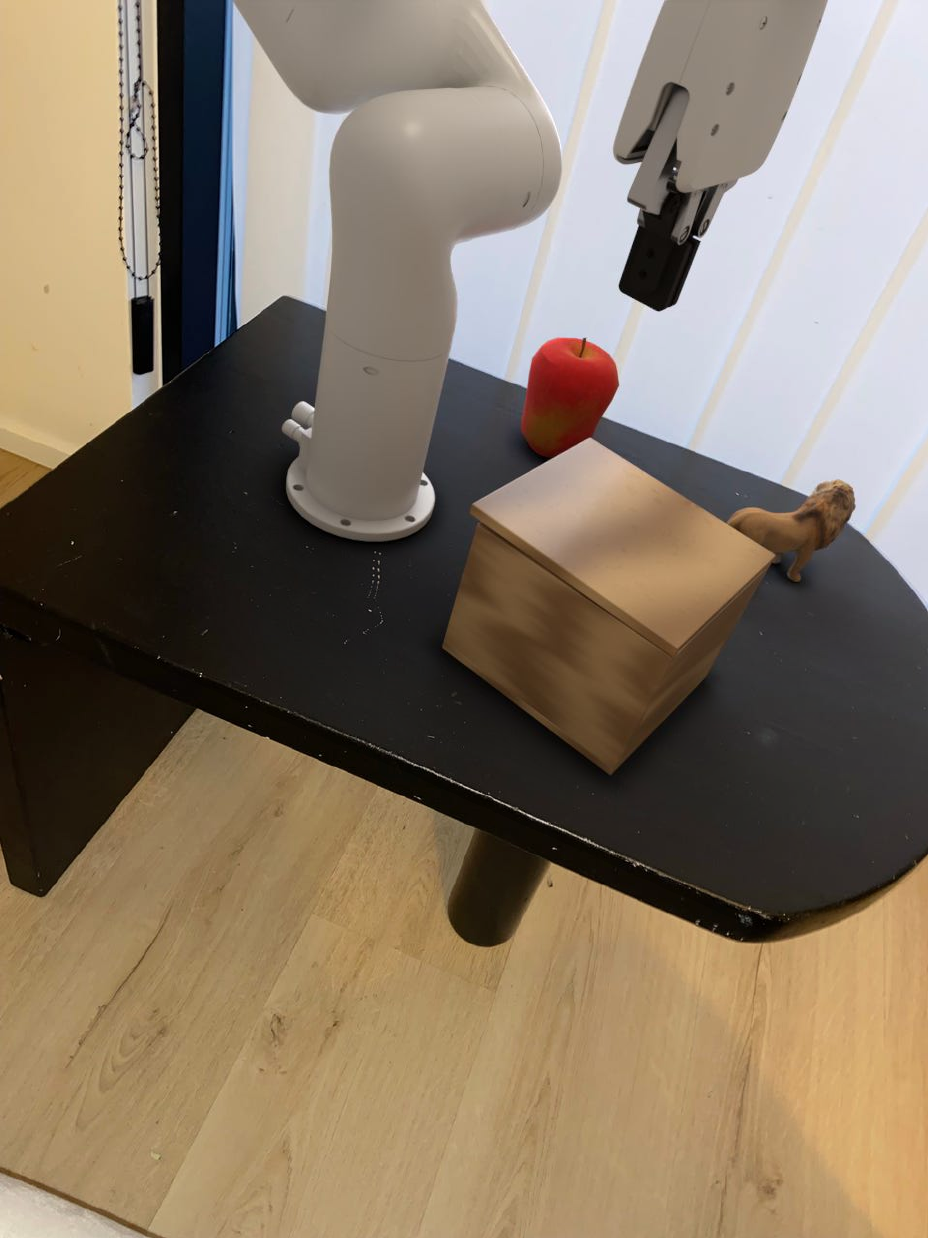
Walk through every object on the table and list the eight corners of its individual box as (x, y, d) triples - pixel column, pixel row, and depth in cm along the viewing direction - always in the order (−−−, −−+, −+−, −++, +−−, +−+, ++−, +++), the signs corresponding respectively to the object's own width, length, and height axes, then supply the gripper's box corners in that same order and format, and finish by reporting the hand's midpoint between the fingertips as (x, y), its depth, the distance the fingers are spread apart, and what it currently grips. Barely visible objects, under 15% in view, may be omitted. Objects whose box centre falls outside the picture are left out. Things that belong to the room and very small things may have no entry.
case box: (441, 647, 70) (476, 524, 62) (551, 570, 79) (593, 454, 71) (610, 776, 64) (672, 658, 56) (706, 676, 74) (770, 564, 66)
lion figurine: (793, 541, 90) (838, 464, 84) (830, 577, 87) (879, 500, 81) (674, 561, 84) (714, 479, 78) (709, 601, 81) (753, 519, 75)
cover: (468, 513, 62) (471, 503, 61) (586, 445, 71) (590, 436, 71) (672, 657, 56) (677, 648, 56) (771, 563, 66) (776, 554, 65)
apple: (594, 479, 91) (635, 369, 83) (509, 461, 90) (542, 348, 82) (589, 431, 97) (627, 325, 89) (509, 414, 96) (540, 305, 88)
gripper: (778, -93, 49) (655, 249, 62) (633, -116, 40) (521, 297, 52) (910, -49, 47) (754, 300, 59) (791, -62, 37) (633, 360, 49)
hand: (646, 298), depth 55 cm, fingers closed
